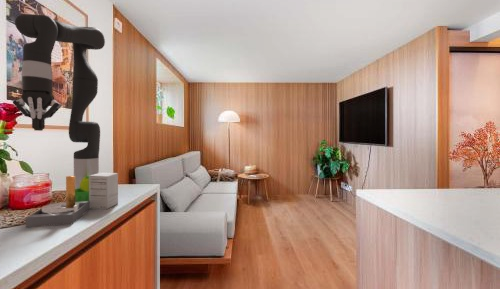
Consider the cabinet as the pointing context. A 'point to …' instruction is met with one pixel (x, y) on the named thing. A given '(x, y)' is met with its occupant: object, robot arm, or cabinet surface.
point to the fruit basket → (82, 190)
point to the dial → (70, 200)
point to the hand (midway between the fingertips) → (38, 130)
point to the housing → (57, 216)
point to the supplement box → (103, 190)
